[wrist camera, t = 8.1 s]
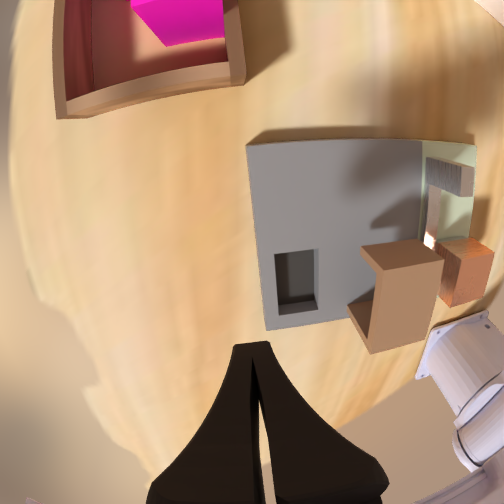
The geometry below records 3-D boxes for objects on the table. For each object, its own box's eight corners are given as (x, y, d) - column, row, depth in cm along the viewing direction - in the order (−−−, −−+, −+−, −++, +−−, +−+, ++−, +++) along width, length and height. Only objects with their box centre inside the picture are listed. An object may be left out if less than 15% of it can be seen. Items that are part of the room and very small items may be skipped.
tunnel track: (464, 143, 18) (521, 157, 12) (448, 284, 23) (487, 322, 18) (245, 144, 18) (252, 154, 12) (264, 319, 23) (274, 379, 17)
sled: (474, 158, 17) (514, 170, 13) (459, 276, 21) (488, 302, 17) (401, 155, 17) (441, 166, 13) (391, 291, 21) (418, 324, 17)
